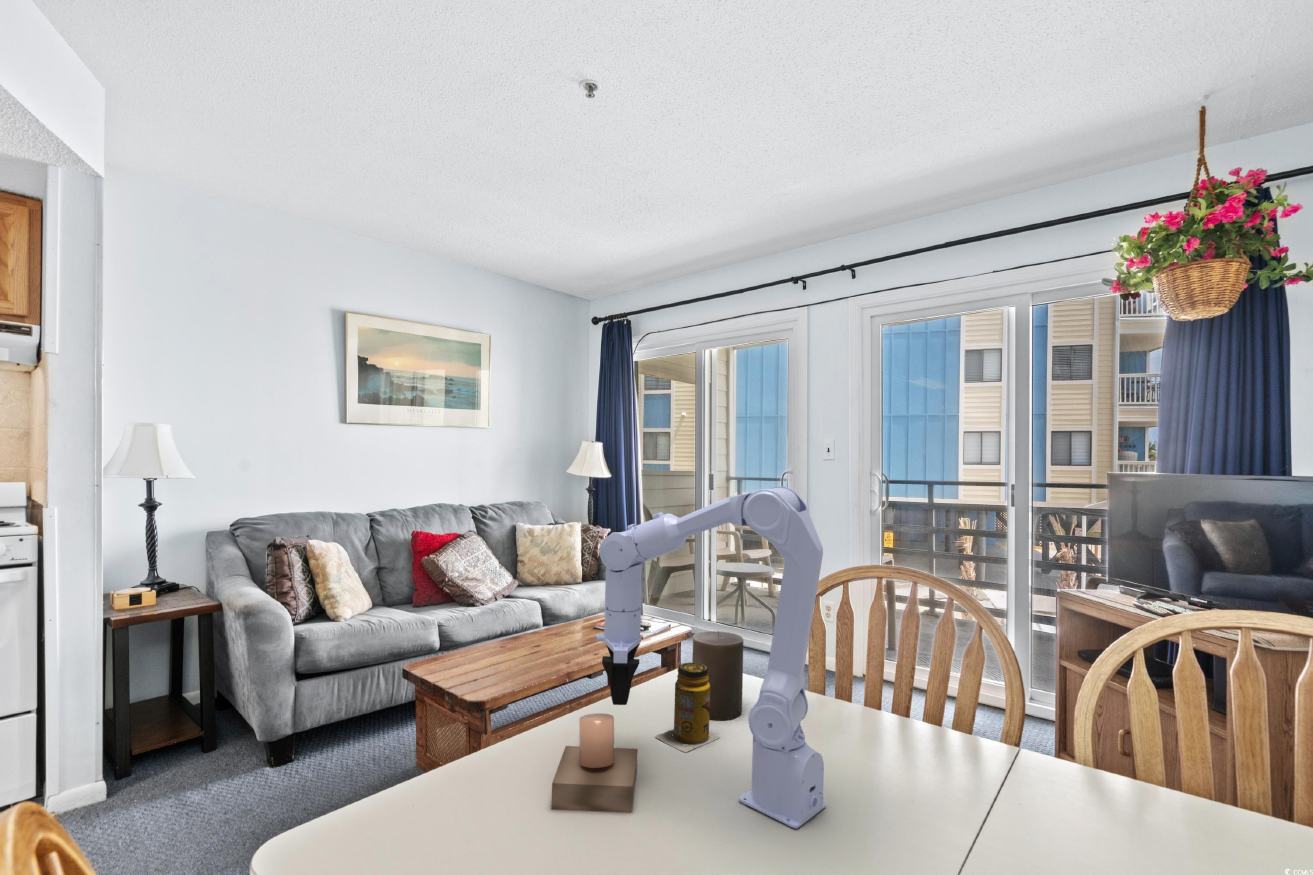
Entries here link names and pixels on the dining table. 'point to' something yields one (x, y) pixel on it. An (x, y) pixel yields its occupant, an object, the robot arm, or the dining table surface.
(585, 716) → the terracotta cylinder
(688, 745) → the condiment
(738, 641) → the pillar candle
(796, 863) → the dining table surface
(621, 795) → the walnut block
